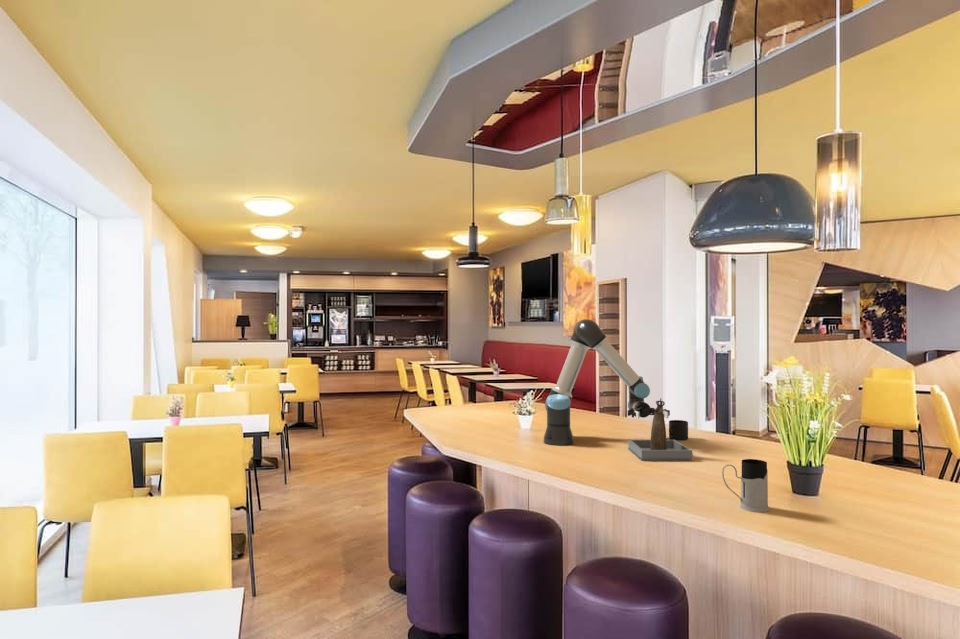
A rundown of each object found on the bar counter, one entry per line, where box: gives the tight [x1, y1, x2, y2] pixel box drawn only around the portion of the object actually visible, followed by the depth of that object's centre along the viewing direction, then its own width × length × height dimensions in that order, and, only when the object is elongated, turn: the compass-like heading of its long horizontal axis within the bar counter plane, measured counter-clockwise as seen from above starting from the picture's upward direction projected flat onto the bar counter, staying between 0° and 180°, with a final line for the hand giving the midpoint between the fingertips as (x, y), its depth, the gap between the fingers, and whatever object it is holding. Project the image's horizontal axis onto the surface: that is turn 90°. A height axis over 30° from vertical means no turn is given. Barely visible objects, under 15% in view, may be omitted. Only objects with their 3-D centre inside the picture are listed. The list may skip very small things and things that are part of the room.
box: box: [627, 439, 693, 462], centre depth 275 cm, size 22×24×4 cm
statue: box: [650, 397, 667, 450], centre depth 275 cm, size 9×8×25 cm
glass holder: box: [721, 458, 770, 513], centre depth 196 cm, size 9×14×15 cm, turn 80°
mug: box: [668, 419, 689, 442], centre depth 312 cm, size 9×12×9 cm
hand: (653, 415), depth 284 cm, fingers open, 13 cm apart
